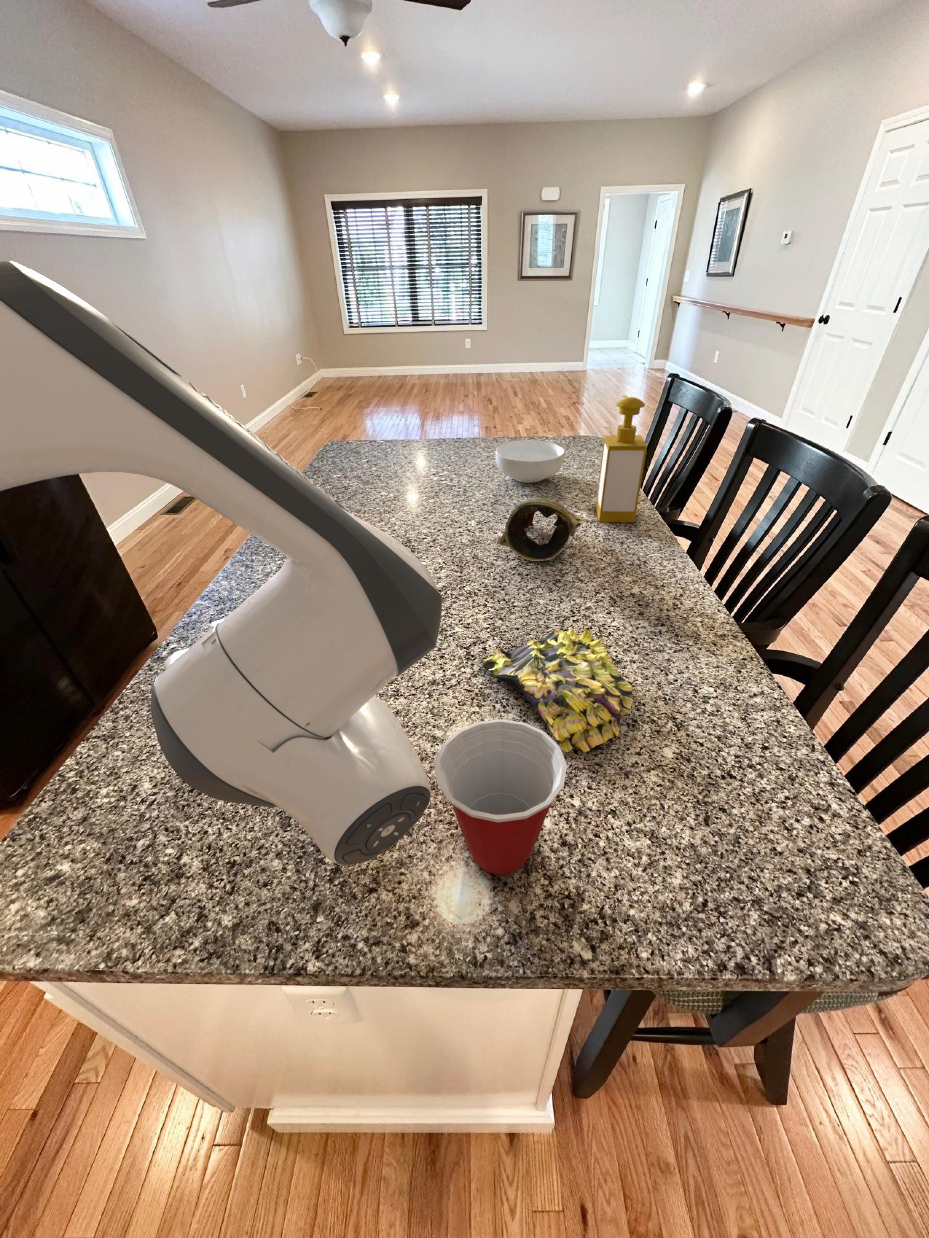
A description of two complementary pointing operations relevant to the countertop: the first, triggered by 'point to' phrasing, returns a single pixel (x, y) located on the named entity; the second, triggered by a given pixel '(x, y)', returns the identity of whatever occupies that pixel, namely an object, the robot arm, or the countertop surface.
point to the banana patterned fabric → (568, 686)
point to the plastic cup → (500, 788)
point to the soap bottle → (621, 467)
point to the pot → (524, 519)
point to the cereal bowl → (529, 460)
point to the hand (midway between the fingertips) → (268, 611)
